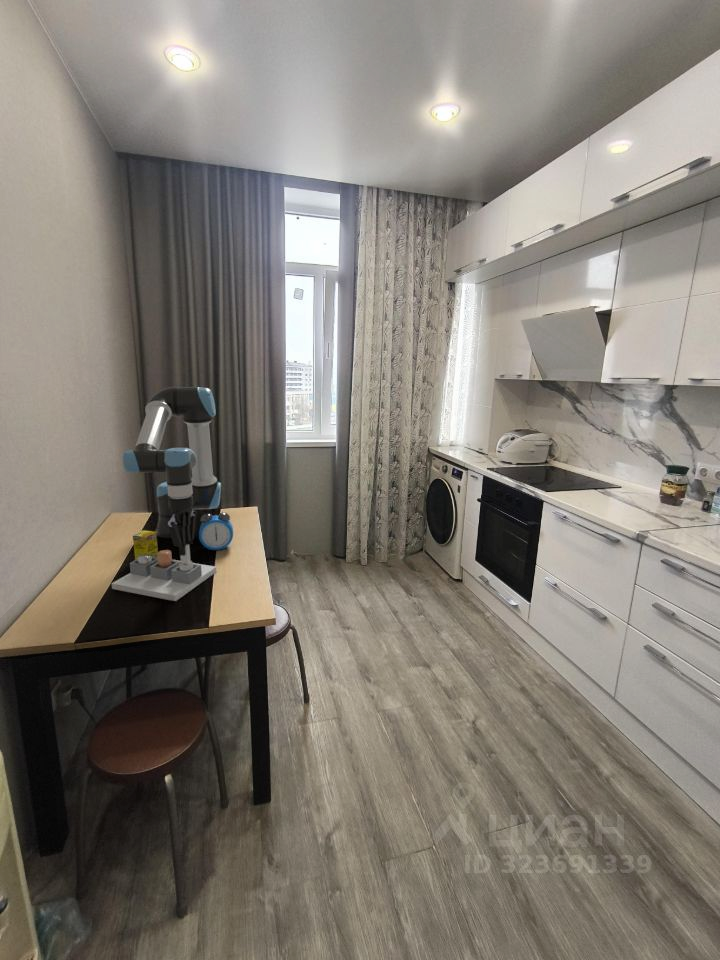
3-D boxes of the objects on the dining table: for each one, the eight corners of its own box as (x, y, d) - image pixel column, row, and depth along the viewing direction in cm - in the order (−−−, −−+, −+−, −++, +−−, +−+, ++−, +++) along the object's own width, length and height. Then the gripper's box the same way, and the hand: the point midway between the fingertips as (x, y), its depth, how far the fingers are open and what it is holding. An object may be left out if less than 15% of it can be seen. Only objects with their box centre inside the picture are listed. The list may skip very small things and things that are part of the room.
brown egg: (164, 562, 153) (163, 549, 152) (175, 564, 152) (173, 550, 151) (155, 567, 149) (154, 554, 148) (166, 569, 148) (165, 555, 147)
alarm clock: (200, 552, 175) (197, 517, 171) (200, 546, 181) (198, 512, 177) (233, 549, 179) (232, 514, 175) (233, 543, 184) (231, 510, 181)
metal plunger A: (145, 566, 156) (143, 553, 155) (155, 567, 155) (154, 554, 154) (135, 571, 152) (134, 557, 151) (146, 573, 151) (145, 559, 150)
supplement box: (149, 564, 163) (146, 537, 161) (135, 562, 165) (132, 535, 162) (159, 557, 169) (156, 531, 166) (145, 556, 170) (142, 529, 168)
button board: (159, 562, 165) (157, 547, 164) (216, 571, 159) (215, 556, 157) (112, 588, 145) (110, 572, 143) (175, 601, 138) (174, 584, 137)
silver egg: (185, 573, 151) (184, 559, 150) (196, 574, 150) (195, 561, 149) (177, 578, 147) (176, 564, 146) (188, 580, 146) (187, 566, 145)
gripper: (183, 489, 149) (188, 553, 155) (156, 500, 137) (162, 569, 142) (202, 491, 147) (207, 556, 153) (176, 502, 135) (182, 572, 140)
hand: (185, 562), depth 147 cm, fingers closed
